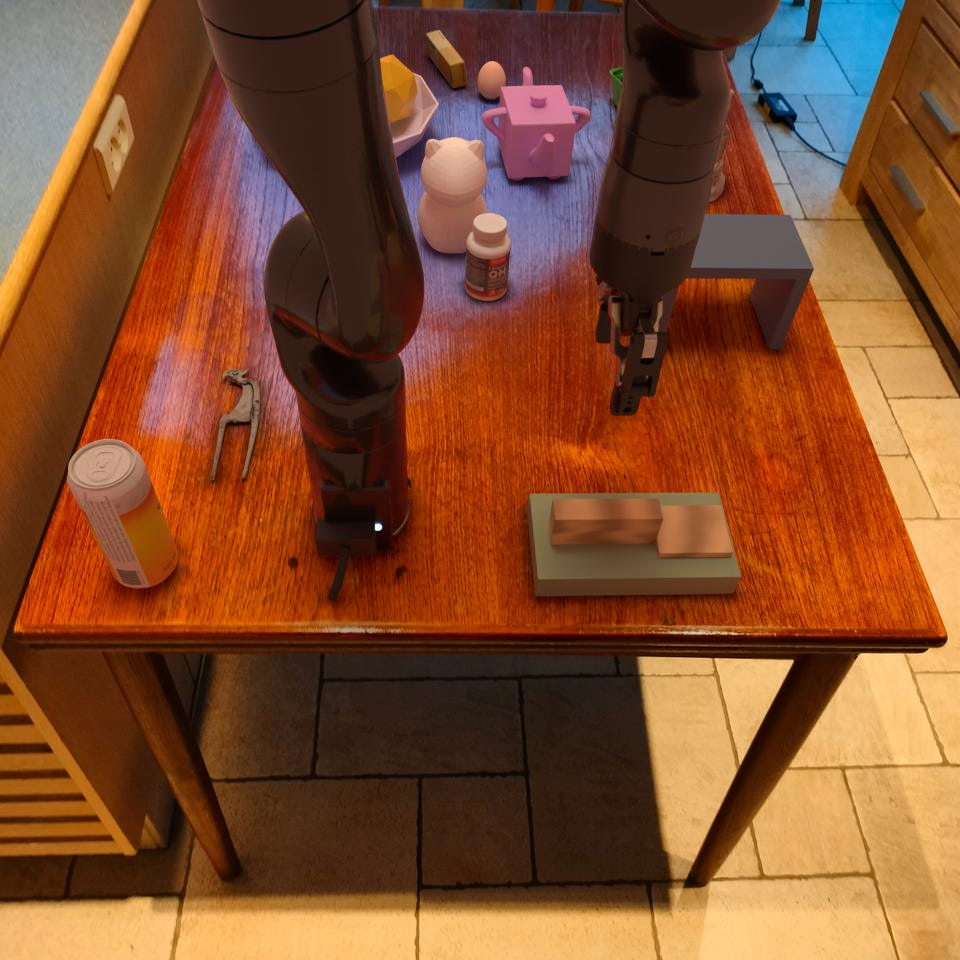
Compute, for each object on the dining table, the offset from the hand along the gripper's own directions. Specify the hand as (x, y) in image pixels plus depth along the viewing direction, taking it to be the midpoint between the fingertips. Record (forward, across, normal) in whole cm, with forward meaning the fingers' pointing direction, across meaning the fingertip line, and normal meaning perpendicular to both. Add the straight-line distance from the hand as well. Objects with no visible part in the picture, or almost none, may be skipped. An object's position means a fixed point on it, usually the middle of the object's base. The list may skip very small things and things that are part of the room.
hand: (614, 375), depth 76 cm
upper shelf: (+20, -29, +19) cm, 40 cm away
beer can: (+19, +5, -42) cm, 47 cm away
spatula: (+16, +5, +4) cm, 18 cm away
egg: (+20, -82, -4) cm, 85 cm away
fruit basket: (+20, -78, +20) cm, 83 cm away
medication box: (+20, -90, -11) cm, 93 cm away
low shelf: (+19, +5, +4) cm, 20 cm away
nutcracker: (+19, -13, -36) cm, 43 cm away
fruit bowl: (+20, -68, -26) cm, 76 cm away
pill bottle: (+20, -35, -8) cm, 41 cm away
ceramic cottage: (+20, -61, +21) cm, 67 cm away
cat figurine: (+20, -46, -12) cm, 52 cm away
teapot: (+20, -63, +1) cm, 66 cm away
